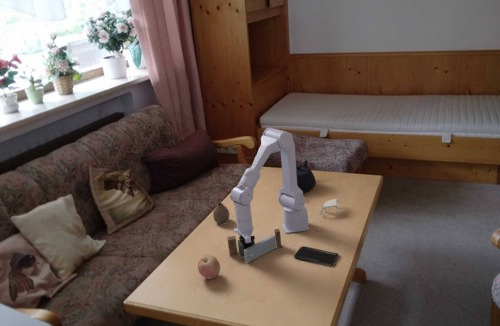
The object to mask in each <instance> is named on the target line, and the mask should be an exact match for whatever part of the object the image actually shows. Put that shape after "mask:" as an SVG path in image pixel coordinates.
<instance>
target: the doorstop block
mask: <svg viewBox="0 0 500 326" xmlns="http://www.w3.org/2000/svg"><path fill="white" fill-rule="evenodd" d="M255 242H256V241H255V240H254V241H253V244H252V246H253V245H254V244H256V243H255ZM237 249H238V255H239V257H240V258H245V257H244V247H243V245H242V243H241V242H240V240H239V239H238V240H237Z"/></svg>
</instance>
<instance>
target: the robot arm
mask: <svg viewBox="0 0 500 326" xmlns="http://www.w3.org/2000/svg"><path fill="white" fill-rule="evenodd" d="M293 138H294V137H293V134H292V133H291V132H289V131H284V130H282V129H281V130H280V129H277V128H273V127H267V128H265V129H264V131H263V133H262V135H261V137H260V141H261V142H260V143H261V144H260V146H259V148H258V151H257V153H256V155H255V157H254V160H253V162H252V164H251V166H250V167H248V168H246V169H245V171H244V173H243V174H242V177H241V179H240V180H239V182H238V183H237V185H236V186H235V187H233V188H232V189H231V191H230V195H229V198H230V200H231V201H232V202H233V205H234V211H235V212H234V213H235V221H236V228H235V227H234V228H233V229H234V230H233V231H234V233H235V234H236V233H237V234H238V235H239V237H238V240H240V242H241V243H242V245H243V247H244V250H245V249H247V248H249V247H251V246H252V244H253V241H254V242H255V238H256V237H255V235H253V232H254V226H253V225H254V224H253V217H252V207H251V202H253V198H254V191H255V190H254V189H255V187H256V186H257V183H258V181H260V178H261V174H260V171H261V170H262V169H263V168H262V167H263V166H264V165H265V163H266V162H267V160H268V159H269V157H270V155H272V154H274V153H277V152H280V159H281V160H280V161H281V171H282V172H281V173H282V175H281V176H282V185H283V186H282V187H280V188H279V195H278V197H277V198H278V204H280V206H281V208H282V209H283V210H282V211H283V221H284V222H282V223H281V225H282V227H283V229H284V232H285V234H292V233H298V232H304V231H309V230H310V227H309V215H308V209H307V207H306V206H305V203H306V198H305V197H304V193H303V192H302V190H301V189H300V188H299V187H298V186H297V174H296V165H297V162H296V161H297V160H296V148H295V146H296V144H295V142H294V139H293Z"/></svg>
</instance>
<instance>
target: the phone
mask: <svg viewBox="0 0 500 326" xmlns="http://www.w3.org/2000/svg"><path fill="white" fill-rule="evenodd" d="M293 256H294V259H295V260H298V261H303V262H308V263H312V264H317V265H321V266H326V267H330V268H333V267H334V266H335V264H336V263H337V261H338V259H339V257H340V254H339V253H337V252H333V251H328V250H322V249H318V248H314V247H310V246H303V245H302V246H299V248H298V250H296V252H295V254H294V255H293Z"/></svg>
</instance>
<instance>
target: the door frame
mask: <svg viewBox="0 0 500 326" xmlns="http://www.w3.org/2000/svg"><path fill="white" fill-rule="evenodd" d="M274 236H275V243H276V249H282V239H281V237H282V236H281V231H280V228H275V229H274ZM226 238H227V246H228V252H229V253H228V254H229V257H234V256H238V255H239V251H238V243H237V238H236V235H232V236H227V237H226Z"/></svg>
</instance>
